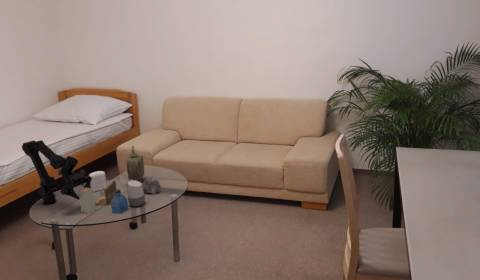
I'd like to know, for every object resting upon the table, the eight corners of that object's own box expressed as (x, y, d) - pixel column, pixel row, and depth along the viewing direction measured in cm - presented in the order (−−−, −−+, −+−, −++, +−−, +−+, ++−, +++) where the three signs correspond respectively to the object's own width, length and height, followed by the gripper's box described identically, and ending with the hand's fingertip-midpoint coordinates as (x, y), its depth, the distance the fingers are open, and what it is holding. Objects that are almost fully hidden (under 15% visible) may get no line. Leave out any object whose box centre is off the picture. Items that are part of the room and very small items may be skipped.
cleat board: (92, 205, 249) (89, 189, 247) (101, 196, 263) (99, 181, 260) (109, 204, 248) (106, 188, 246) (117, 196, 262) (115, 180, 260)
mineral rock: (138, 191, 268) (136, 176, 265) (153, 187, 274) (152, 172, 271) (147, 197, 258) (145, 181, 255) (163, 192, 264) (161, 176, 261)
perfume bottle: (128, 209, 240) (125, 189, 238) (120, 213, 235) (118, 192, 232) (119, 207, 243) (116, 188, 240) (112, 212, 238) (109, 191, 235)
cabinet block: (81, 211, 241) (78, 190, 238) (89, 207, 246) (85, 187, 243) (88, 213, 238) (85, 191, 235) (95, 209, 243) (92, 188, 240)
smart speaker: (141, 208, 241) (138, 184, 238) (126, 207, 243) (123, 184, 239) (147, 201, 250) (145, 178, 247) (133, 201, 252) (130, 178, 248)
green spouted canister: (132, 179, 292) (127, 144, 286) (145, 178, 293) (141, 143, 287) (129, 186, 278) (124, 149, 272) (143, 185, 279) (138, 148, 273)
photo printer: (105, 187, 279) (103, 169, 276) (107, 189, 276) (105, 170, 273) (89, 191, 274) (87, 172, 271) (91, 192, 270) (88, 174, 267)
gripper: (60, 172, 231) (77, 193, 228) (87, 162, 247) (103, 182, 244) (53, 184, 237) (70, 205, 234) (80, 174, 253) (96, 193, 250)
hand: (85, 196), depth 240 cm, fingers open, 9 cm apart
